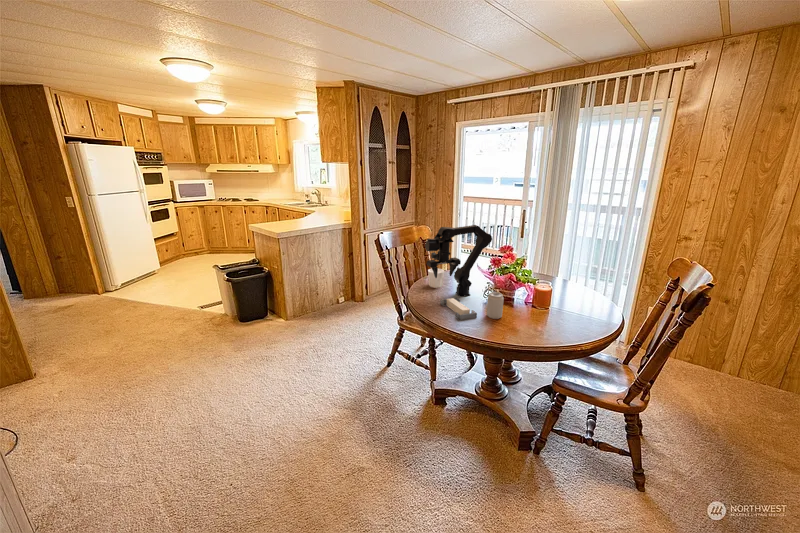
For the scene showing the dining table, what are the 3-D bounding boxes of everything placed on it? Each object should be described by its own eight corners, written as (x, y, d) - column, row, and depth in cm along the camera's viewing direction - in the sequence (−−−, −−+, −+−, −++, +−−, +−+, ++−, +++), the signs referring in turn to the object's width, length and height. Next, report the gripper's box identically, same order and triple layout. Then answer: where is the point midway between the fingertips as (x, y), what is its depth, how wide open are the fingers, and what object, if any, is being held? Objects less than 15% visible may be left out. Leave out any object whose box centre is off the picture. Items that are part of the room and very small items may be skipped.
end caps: (456, 301, 184) (456, 297, 183) (476, 317, 164) (476, 313, 163) (440, 303, 181) (440, 299, 180) (459, 320, 161) (459, 315, 160)
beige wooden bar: (452, 304, 180) (453, 298, 179) (469, 316, 166) (469, 309, 165) (446, 306, 179) (446, 299, 178) (462, 317, 165) (463, 310, 163)
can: (502, 314, 168) (504, 292, 164) (501, 320, 161) (503, 297, 158) (487, 312, 170) (488, 290, 167) (485, 318, 163) (487, 295, 160)
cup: (425, 283, 213) (426, 268, 210) (440, 282, 215) (441, 268, 212) (430, 288, 204) (430, 273, 201) (445, 287, 205) (446, 272, 203)
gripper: (451, 245, 194) (450, 271, 198) (422, 248, 187) (422, 274, 192) (461, 249, 184) (460, 276, 188) (431, 252, 177) (430, 280, 182)
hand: (443, 276), depth 188 cm, fingers open, 9 cm apart
